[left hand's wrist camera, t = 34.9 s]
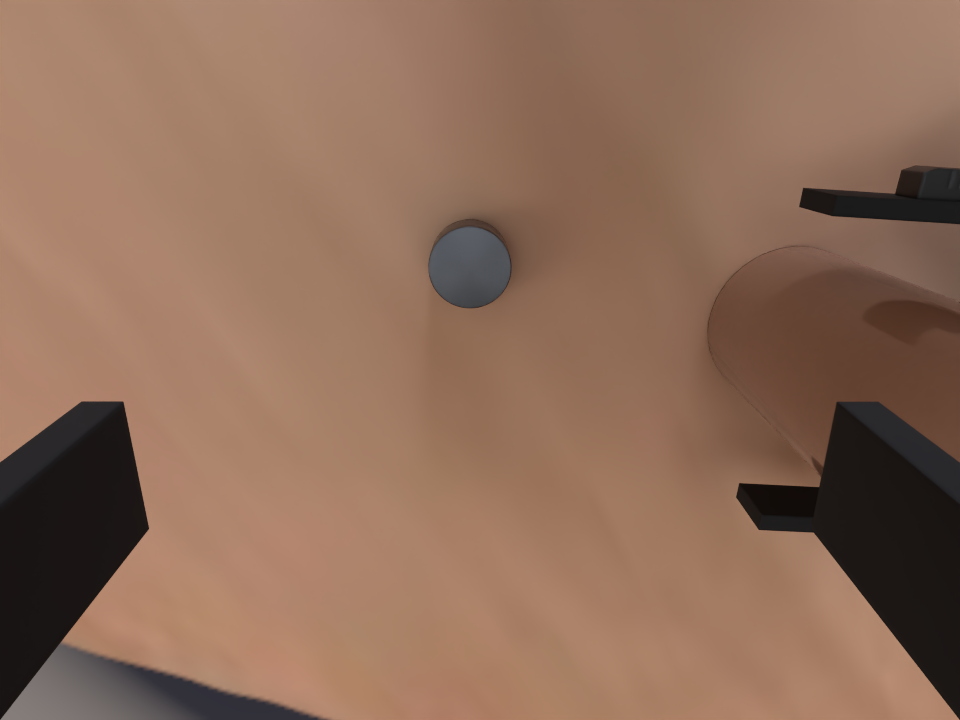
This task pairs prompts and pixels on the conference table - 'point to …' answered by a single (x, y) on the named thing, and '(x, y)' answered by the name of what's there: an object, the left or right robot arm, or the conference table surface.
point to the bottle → (837, 347)
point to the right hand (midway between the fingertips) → (779, 365)
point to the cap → (469, 264)
